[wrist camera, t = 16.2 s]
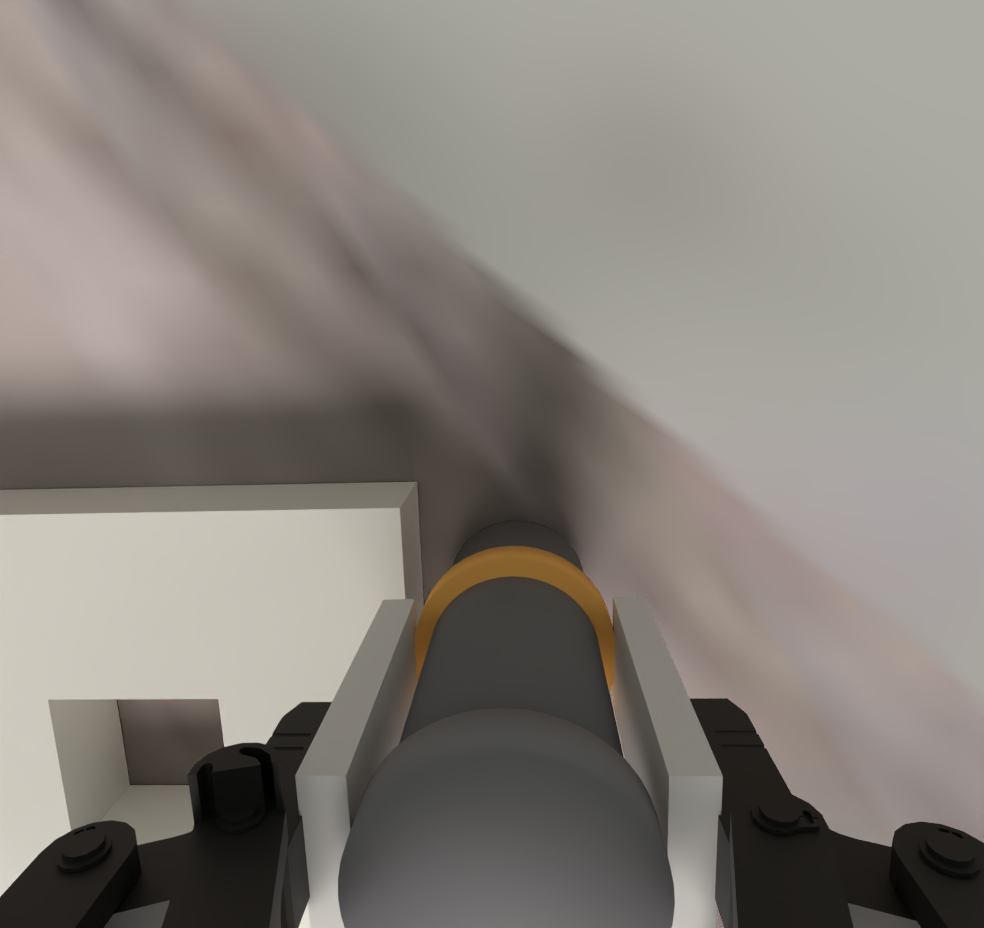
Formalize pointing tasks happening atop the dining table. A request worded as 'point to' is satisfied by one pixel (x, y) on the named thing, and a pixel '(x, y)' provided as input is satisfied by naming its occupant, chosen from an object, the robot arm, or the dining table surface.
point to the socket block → (175, 629)
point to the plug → (509, 762)
